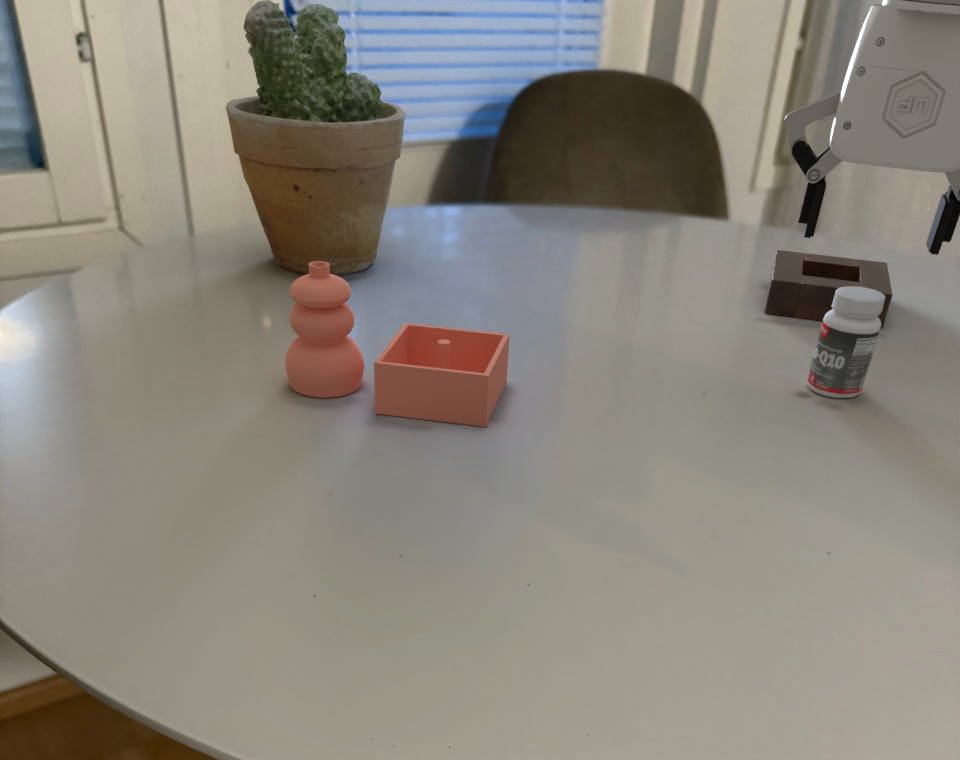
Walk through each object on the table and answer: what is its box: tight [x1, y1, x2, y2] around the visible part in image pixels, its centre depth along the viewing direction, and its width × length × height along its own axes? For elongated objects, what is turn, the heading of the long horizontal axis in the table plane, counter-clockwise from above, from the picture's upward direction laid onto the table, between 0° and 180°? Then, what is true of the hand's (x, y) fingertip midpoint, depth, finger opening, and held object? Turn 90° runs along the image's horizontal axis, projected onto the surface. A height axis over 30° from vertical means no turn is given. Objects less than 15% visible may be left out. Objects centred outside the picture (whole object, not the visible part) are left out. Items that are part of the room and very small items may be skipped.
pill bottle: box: [806, 286, 885, 399], centre depth 82 cm, size 5×5×8 cm
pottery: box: [284, 261, 510, 428], centre depth 77 cm, size 18×10×10 cm, turn 79°
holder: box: [764, 249, 893, 330], centre depth 103 cm, size 12×12×4 cm
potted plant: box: [225, 0, 407, 276], centre depth 101 cm, size 18×19×25 cm
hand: (869, 241), depth 77 cm, fingers open, 9 cm apart
